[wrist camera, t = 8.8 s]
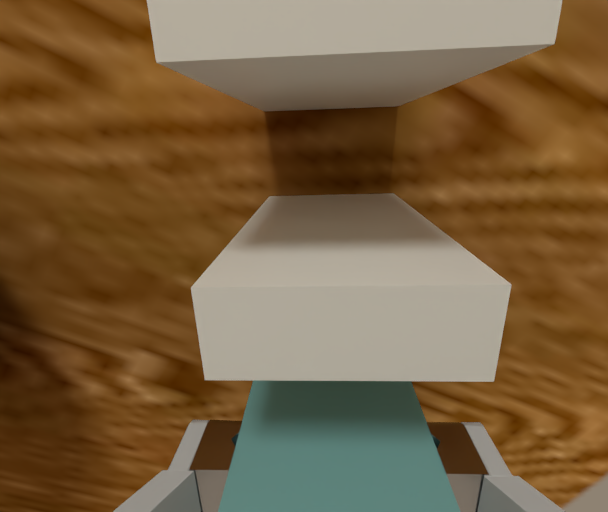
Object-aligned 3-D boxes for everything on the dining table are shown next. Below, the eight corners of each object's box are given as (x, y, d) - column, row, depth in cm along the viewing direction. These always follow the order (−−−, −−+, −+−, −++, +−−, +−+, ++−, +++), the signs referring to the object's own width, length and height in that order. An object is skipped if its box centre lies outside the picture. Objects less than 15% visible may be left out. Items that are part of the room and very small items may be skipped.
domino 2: (393, 193, 14) (511, 284, 5) (391, 236, 14) (494, 381, 6) (269, 196, 14) (190, 287, 6) (272, 238, 15) (205, 380, 6)
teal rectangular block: (395, 341, 13) (548, 739, 4) (393, 381, 13) (522, 800, 5) (263, 342, 13) (162, 719, 5) (266, 380, 14) (181, 779, 5)
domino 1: (401, 51, 12) (590, -154, 4) (398, 106, 13) (553, 44, 4) (260, 57, 12) (128, -119, 4) (264, 111, 13) (156, 62, 4)
